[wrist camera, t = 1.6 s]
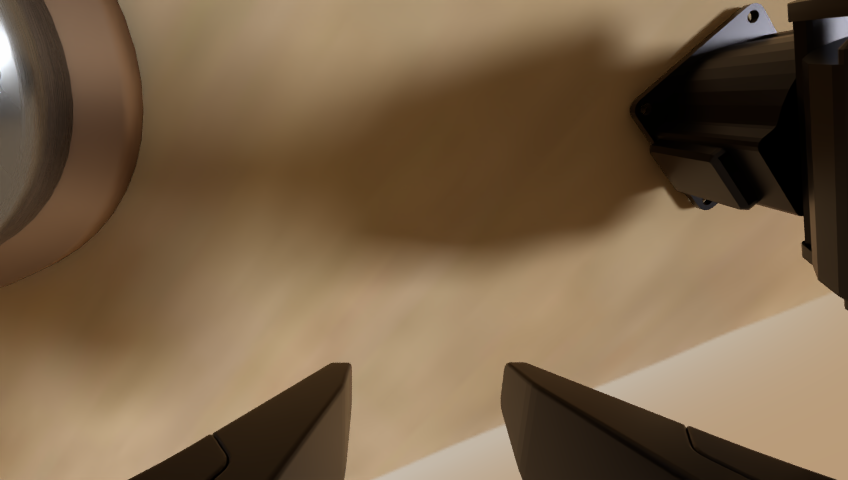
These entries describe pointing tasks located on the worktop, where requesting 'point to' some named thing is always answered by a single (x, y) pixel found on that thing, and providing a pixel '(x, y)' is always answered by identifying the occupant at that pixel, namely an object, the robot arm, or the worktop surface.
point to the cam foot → (31, 112)
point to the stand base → (86, 137)
